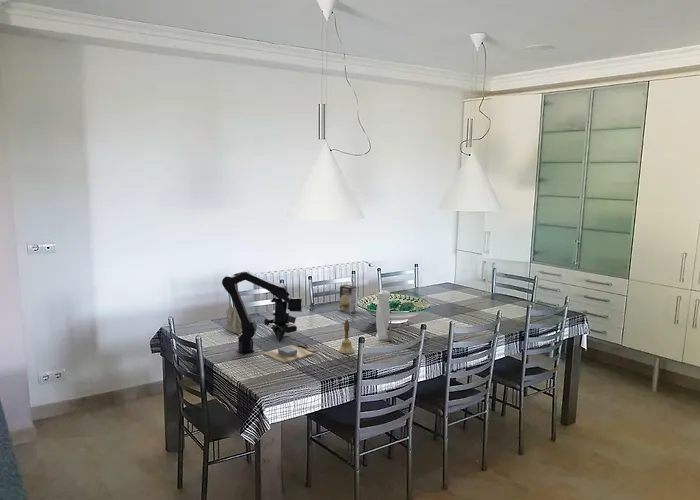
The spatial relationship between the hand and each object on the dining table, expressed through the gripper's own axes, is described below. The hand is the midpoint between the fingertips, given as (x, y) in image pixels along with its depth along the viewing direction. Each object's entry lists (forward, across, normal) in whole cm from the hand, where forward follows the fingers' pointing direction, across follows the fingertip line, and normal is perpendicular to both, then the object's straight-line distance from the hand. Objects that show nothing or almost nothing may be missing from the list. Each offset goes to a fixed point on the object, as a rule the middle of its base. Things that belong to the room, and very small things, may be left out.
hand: (279, 341), depth 261 cm
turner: (+5, -4, -14) cm, 15 cm away
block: (+3, -2, 0) cm, 4 cm away
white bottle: (+5, -18, -56) cm, 59 cm away
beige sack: (+6, +45, -7) cm, 46 cm away
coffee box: (+5, +33, -81) cm, 87 cm away
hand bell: (+5, -20, -26) cm, 34 cm away
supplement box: (+6, +22, -18) cm, 29 cm away
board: (+5, -5, -1) cm, 8 cm away
